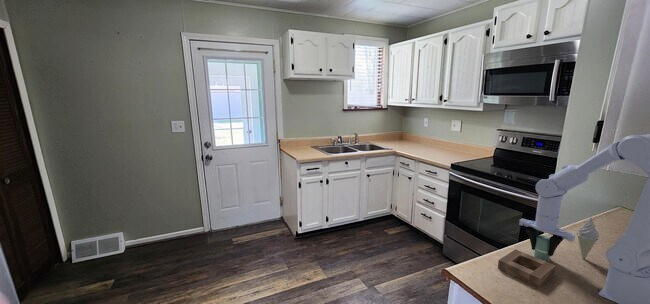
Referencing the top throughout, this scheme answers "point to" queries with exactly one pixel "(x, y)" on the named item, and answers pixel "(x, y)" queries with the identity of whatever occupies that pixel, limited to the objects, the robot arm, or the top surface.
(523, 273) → the stand
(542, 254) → the peg
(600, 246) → the top surface
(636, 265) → the robot arm
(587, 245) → the ice cream cone
